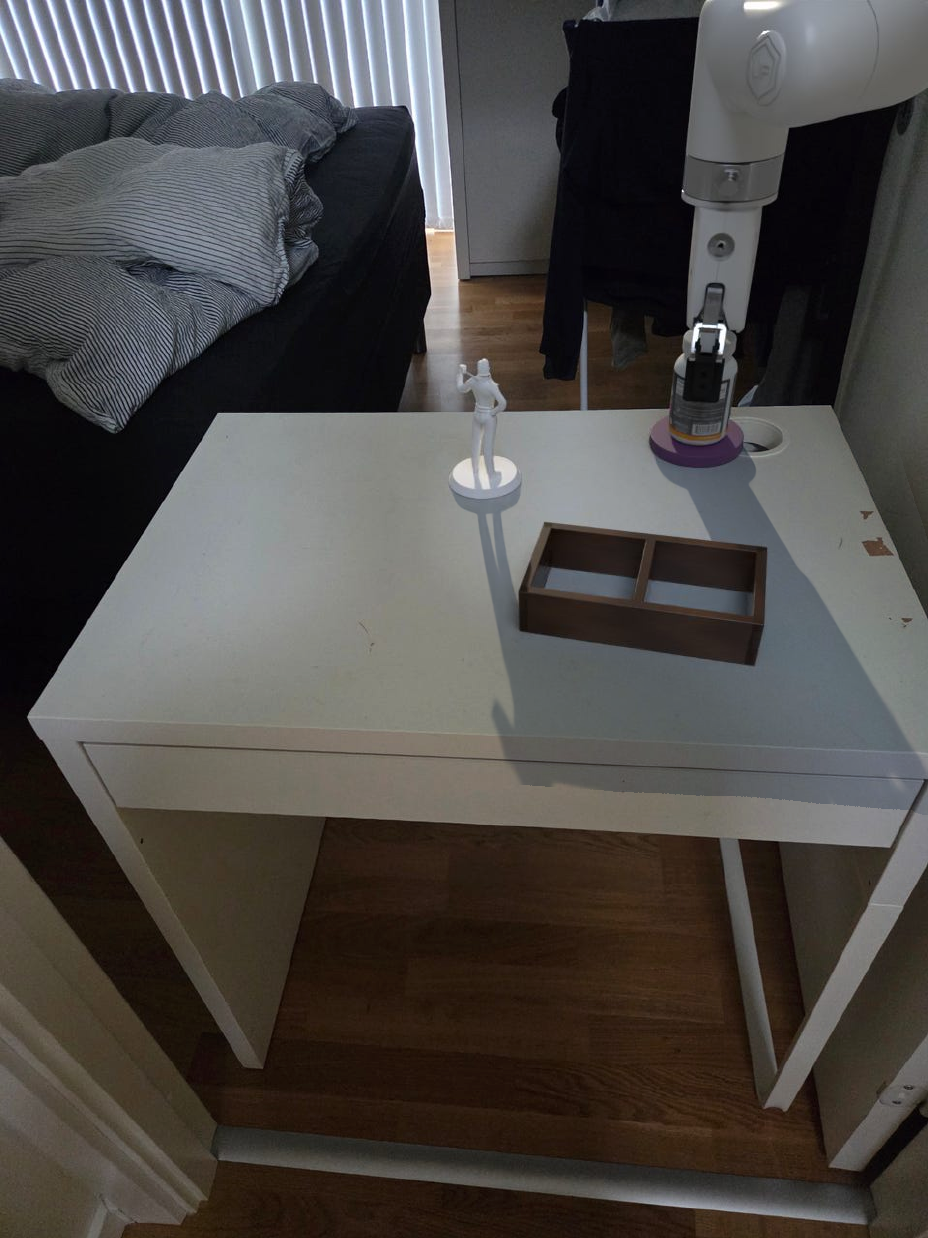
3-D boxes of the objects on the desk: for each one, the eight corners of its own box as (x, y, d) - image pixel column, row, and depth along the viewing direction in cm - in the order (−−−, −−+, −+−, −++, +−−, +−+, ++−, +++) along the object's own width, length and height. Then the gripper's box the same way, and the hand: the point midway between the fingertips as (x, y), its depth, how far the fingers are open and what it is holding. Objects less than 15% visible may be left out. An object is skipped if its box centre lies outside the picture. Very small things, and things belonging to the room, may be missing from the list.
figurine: (536, 473, 81) (536, 355, 73) (489, 507, 78) (483, 386, 70) (480, 451, 85) (474, 336, 77) (433, 482, 81) (421, 365, 73)
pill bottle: (682, 414, 86) (693, 318, 79) (736, 428, 83) (752, 330, 76) (657, 438, 82) (666, 341, 76) (712, 454, 80) (727, 354, 73)
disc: (744, 425, 86) (746, 414, 85) (740, 472, 79) (741, 460, 79) (654, 418, 88) (655, 407, 87) (643, 462, 82) (644, 452, 81)
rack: (758, 587, 67) (767, 546, 64) (754, 666, 60) (764, 624, 58) (544, 560, 71) (544, 521, 69) (519, 631, 65) (518, 591, 62)
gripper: (778, 210, 60) (741, 424, 72) (781, 149, 73) (749, 340, 84) (672, 208, 62) (653, 417, 74) (692, 149, 75) (673, 336, 86)
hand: (704, 376), depth 79 cm, fingers open, 9 cm apart
